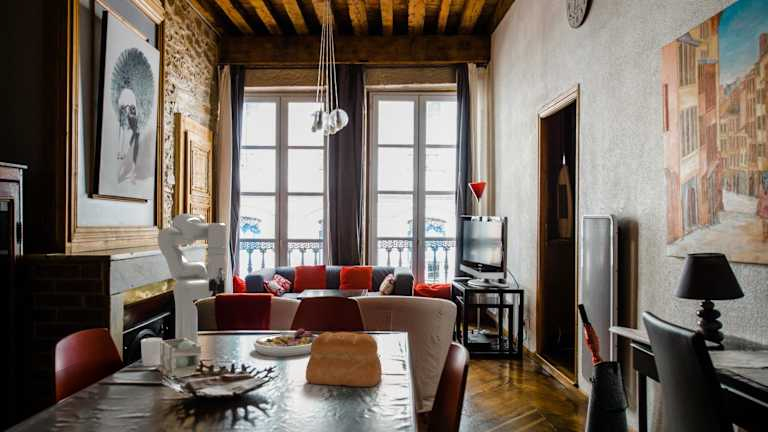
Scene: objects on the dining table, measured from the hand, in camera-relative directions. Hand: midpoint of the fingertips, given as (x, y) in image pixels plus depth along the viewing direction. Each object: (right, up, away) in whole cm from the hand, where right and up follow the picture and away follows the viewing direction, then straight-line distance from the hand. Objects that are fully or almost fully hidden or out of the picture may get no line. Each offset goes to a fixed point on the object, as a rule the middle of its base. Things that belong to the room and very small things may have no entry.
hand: (216, 292), depth 219 cm
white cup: (-24, -28, -9) cm, 38 cm away
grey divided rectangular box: (-8, -28, -20) cm, 35 cm away
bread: (+57, -27, -34) cm, 72 cm away
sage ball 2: (-6, -23, -24) cm, 34 cm away
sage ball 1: (-5, -19, -21) cm, 29 cm away
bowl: (+28, -29, +14) cm, 43 cm away
